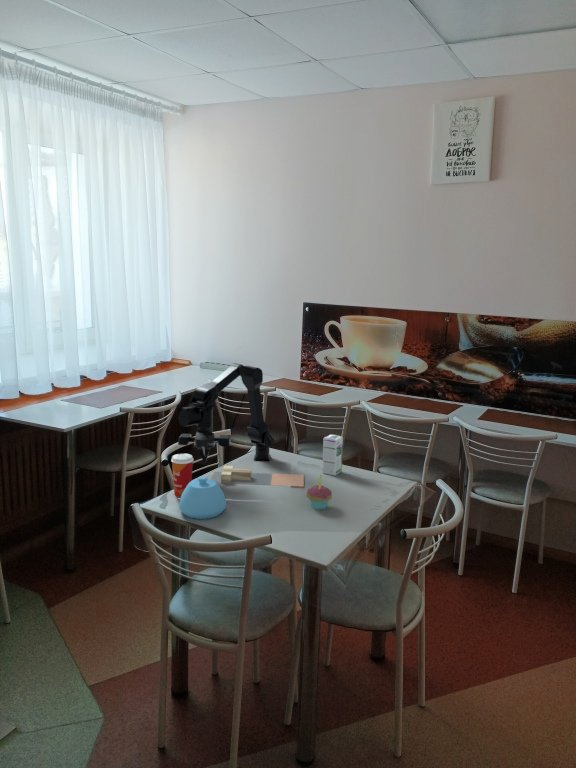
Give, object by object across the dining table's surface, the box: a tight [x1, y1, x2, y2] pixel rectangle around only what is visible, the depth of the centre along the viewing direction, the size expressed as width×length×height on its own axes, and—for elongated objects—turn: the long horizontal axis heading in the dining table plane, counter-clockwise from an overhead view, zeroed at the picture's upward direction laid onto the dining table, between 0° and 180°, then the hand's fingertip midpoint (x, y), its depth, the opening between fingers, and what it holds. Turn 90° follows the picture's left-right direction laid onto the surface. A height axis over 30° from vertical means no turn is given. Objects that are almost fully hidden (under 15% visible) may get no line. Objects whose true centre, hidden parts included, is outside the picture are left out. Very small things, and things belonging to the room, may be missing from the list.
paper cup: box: [170, 453, 195, 499], centre depth 216 cm, size 8×8×14 cm
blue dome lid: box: [178, 476, 227, 520], centre depth 204 cm, size 15×15×12 cm
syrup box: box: [322, 434, 344, 476], centre depth 243 cm, size 6×6×14 cm
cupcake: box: [306, 474, 333, 510], centre depth 210 cm, size 9×8×12 cm
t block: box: [221, 465, 252, 483], centre depth 234 cm, size 10×10×3 cm
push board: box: [211, 471, 305, 488], centre depth 234 cm, size 12×34×1 cm, turn 89°
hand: (204, 462), depth 233 cm, fingers closed
